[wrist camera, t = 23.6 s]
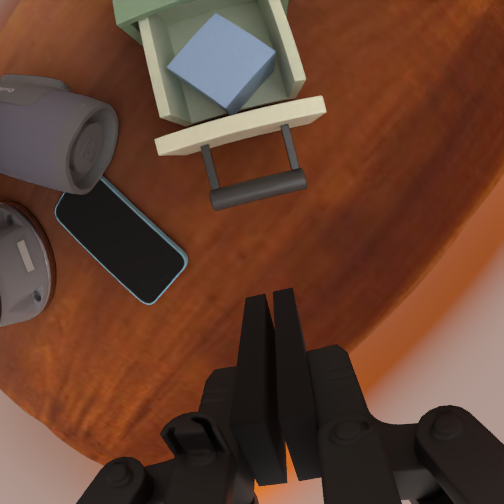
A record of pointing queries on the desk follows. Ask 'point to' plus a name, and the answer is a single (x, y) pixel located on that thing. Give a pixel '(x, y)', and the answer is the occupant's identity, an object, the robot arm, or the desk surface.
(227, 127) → the drawer
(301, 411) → the robot arm
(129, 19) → the cabinet
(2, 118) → the bluetooth speaker
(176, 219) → the desk surface
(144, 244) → the smartphone
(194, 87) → the block
